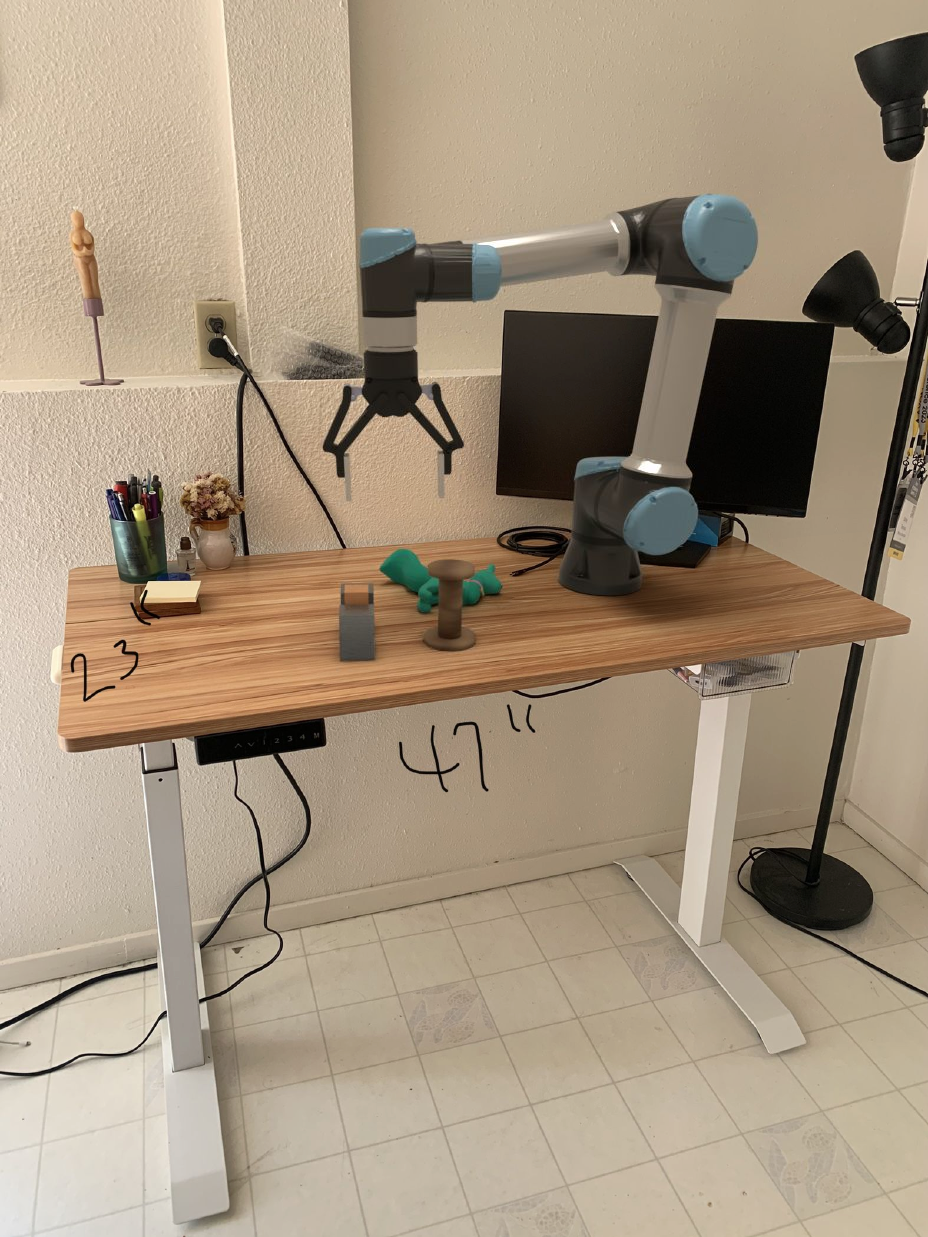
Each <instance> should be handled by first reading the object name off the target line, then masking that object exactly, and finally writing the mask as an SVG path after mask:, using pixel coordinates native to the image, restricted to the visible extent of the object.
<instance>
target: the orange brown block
mask: <svg viewBox="0 0 928 1237" xmlns="http://www.w3.org/2000/svg"><path fill="white" fill-rule="evenodd" d="M344 595H345V605H366V604H368V585H345V592H344Z"/></svg>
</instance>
